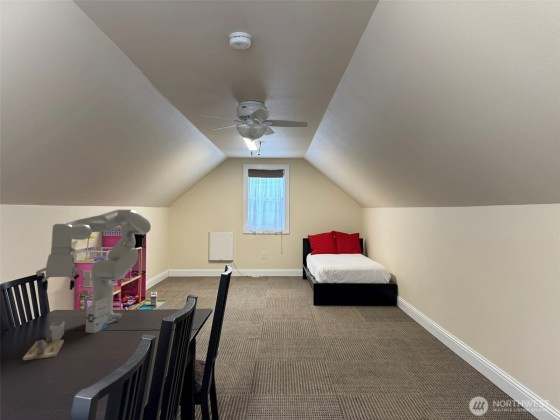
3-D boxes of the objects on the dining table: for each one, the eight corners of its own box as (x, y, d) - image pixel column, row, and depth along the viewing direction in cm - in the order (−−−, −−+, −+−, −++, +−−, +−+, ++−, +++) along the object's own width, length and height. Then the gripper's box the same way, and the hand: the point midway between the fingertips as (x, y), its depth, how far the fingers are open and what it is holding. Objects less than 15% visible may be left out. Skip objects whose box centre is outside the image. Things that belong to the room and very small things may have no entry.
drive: (63, 334, 149) (64, 320, 149) (60, 339, 142) (60, 325, 142) (53, 334, 148) (54, 320, 148) (49, 340, 140) (49, 326, 141)
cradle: (63, 342, 139) (64, 327, 139) (55, 356, 124) (56, 340, 125) (35, 345, 135) (36, 330, 135) (22, 360, 120) (23, 343, 121)
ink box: (98, 326, 160) (100, 296, 161) (107, 327, 159) (108, 297, 160) (84, 332, 152) (86, 300, 152) (94, 333, 151) (95, 301, 151)
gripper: (84, 250, 153) (82, 287, 152) (40, 250, 146) (37, 289, 145) (82, 251, 146) (79, 290, 145) (35, 251, 139) (32, 292, 138)
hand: (58, 289), depth 145 cm, fingers open, 9 cm apart
